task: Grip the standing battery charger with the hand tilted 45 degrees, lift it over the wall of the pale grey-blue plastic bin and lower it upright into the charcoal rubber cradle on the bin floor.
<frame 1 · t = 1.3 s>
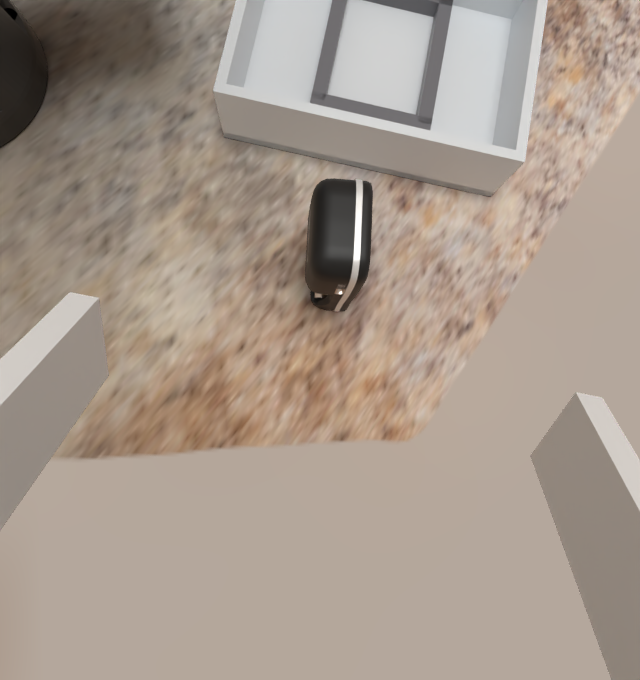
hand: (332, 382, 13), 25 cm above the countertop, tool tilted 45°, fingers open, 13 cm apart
bin: (376, 76, 42), on the countertop
battery charger: (325, 273, 39), on the countertop
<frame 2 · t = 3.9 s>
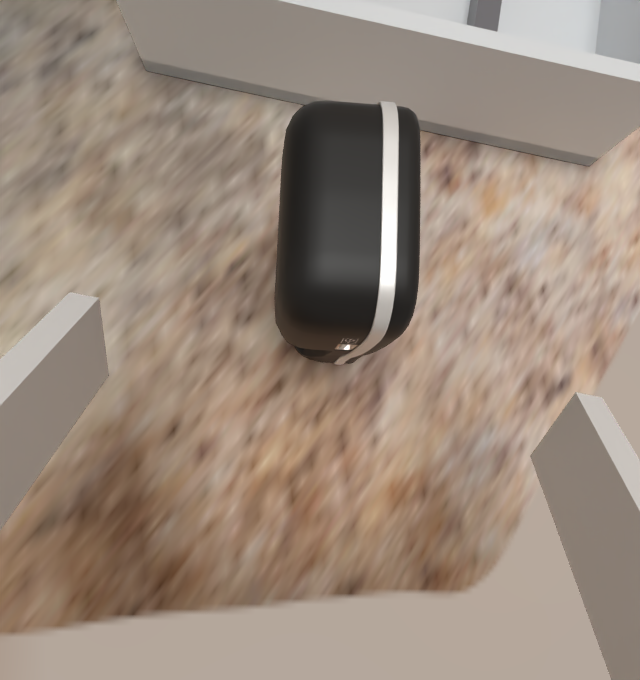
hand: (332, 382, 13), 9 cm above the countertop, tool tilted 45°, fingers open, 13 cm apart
battery charger: (318, 298, 23), on the countertop
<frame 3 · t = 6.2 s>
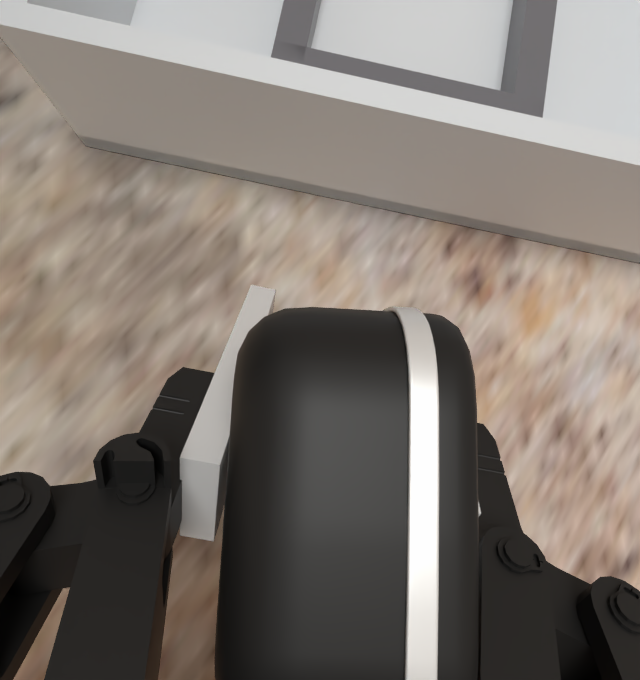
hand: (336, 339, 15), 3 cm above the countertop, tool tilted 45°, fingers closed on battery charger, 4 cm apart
bin: (413, 17, 20), on the countertop
battery charger: (309, 448, 17), on the countertop, touching gripper
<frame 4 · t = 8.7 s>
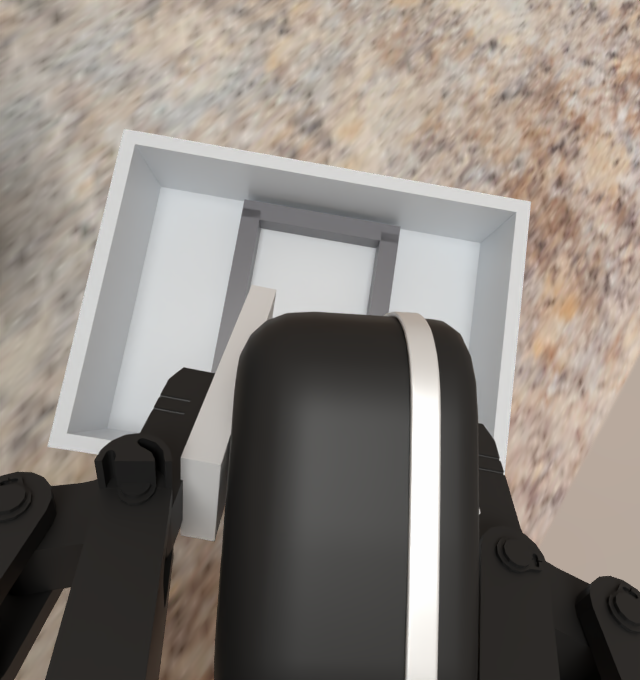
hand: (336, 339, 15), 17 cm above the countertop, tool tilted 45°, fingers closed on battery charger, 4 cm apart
bin: (303, 332, 31), on the countertop
battery charger: (308, 450, 17), point 13 cm above the countertop, touching gripper
when the fingers open (6 cm above the countertop, at t = 11.4 s): battery charger drops 2 cm, resting on bin.
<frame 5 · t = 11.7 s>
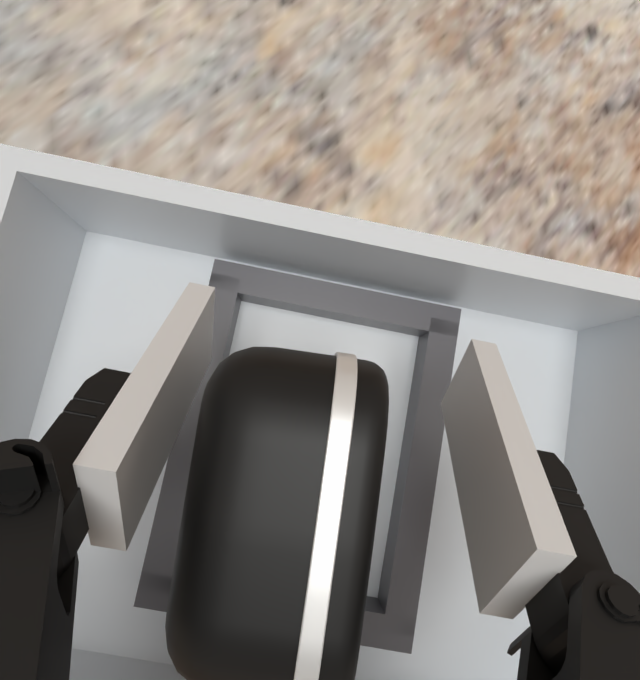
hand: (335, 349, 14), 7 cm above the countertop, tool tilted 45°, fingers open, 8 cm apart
bin: (301, 465, 20), on the countertop
battery charger: (297, 444, 19), point 1 cm above the countertop, touching bin
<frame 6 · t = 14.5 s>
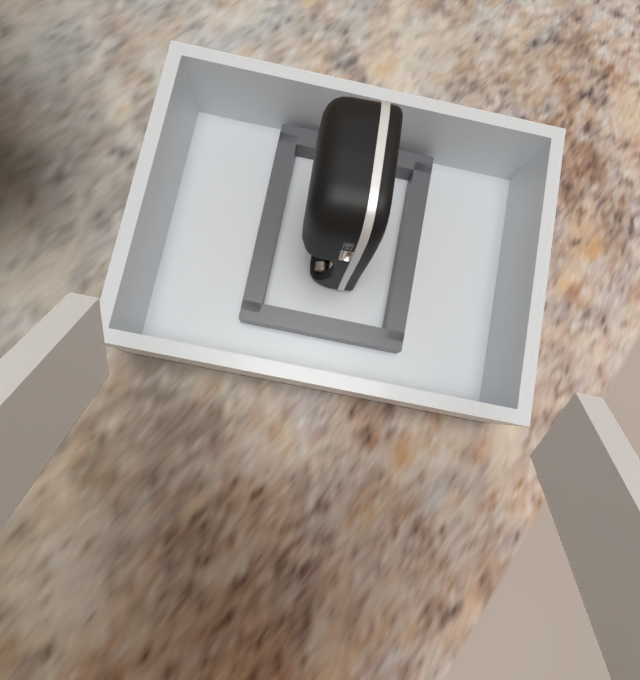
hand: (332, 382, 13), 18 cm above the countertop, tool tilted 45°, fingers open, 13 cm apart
bin: (333, 260, 32), on the countertop
battery charger: (331, 243, 31), point 1 cm above the countertop, touching bin
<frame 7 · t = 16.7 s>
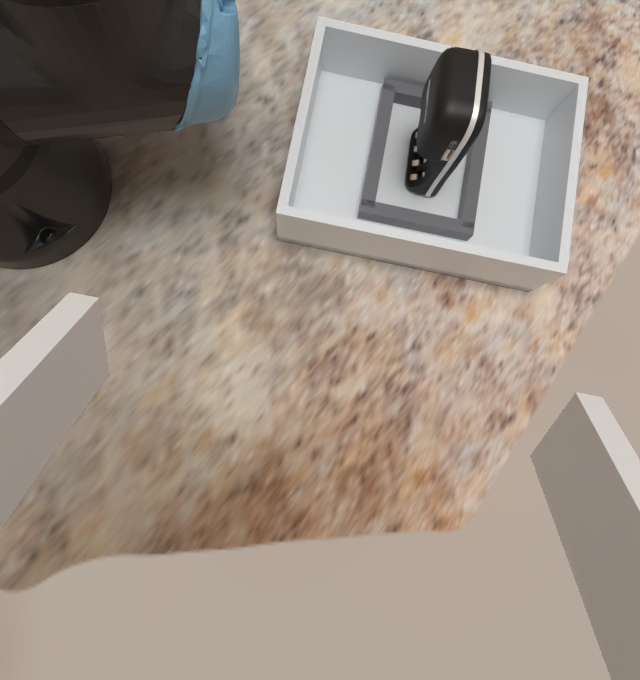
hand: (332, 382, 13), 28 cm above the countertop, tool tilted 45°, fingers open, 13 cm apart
bin: (419, 177, 44), on the countertop
battery charger: (418, 164, 43), point 1 cm above the countertop, touching bin
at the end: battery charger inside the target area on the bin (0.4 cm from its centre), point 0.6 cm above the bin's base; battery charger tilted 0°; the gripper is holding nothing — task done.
